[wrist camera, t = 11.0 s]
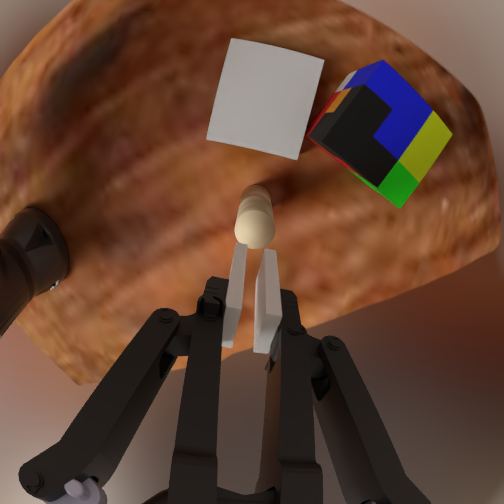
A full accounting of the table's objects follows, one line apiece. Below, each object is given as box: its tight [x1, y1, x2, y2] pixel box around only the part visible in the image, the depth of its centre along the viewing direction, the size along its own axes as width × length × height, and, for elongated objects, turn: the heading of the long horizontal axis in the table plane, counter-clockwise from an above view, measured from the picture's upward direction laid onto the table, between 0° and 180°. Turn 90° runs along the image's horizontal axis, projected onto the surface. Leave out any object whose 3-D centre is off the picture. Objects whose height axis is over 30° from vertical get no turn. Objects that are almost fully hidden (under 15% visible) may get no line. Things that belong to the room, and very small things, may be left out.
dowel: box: [235, 185, 275, 249], centre depth 29 cm, size 4×4×10 cm
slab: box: [206, 38, 324, 160], centre depth 26 cm, size 10×12×4 cm
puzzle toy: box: [304, 60, 453, 209], centre depth 24 cm, size 10×10×10 cm
